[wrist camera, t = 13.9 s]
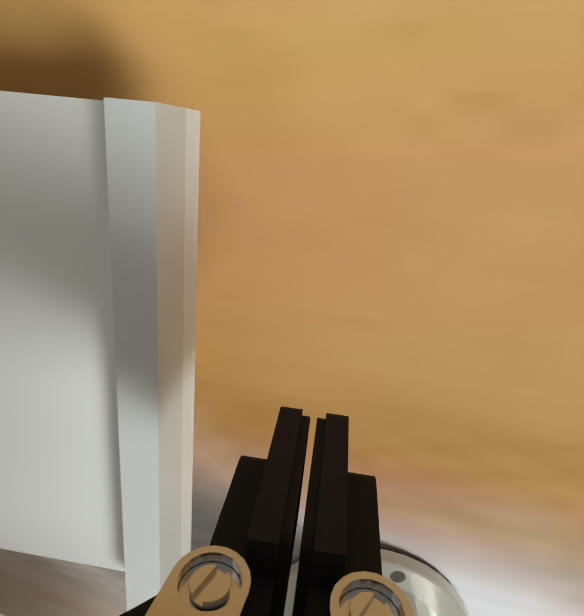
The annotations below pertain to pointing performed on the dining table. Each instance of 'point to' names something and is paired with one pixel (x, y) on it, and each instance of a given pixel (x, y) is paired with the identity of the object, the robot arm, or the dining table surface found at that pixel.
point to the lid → (98, 332)
